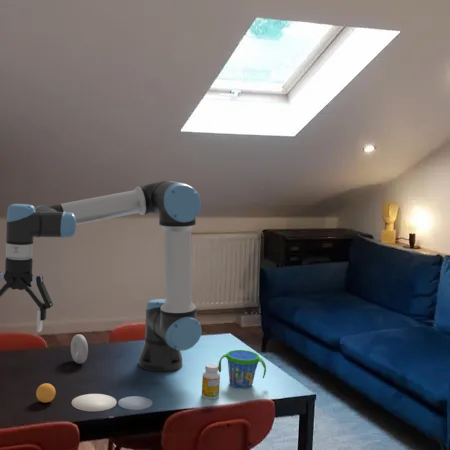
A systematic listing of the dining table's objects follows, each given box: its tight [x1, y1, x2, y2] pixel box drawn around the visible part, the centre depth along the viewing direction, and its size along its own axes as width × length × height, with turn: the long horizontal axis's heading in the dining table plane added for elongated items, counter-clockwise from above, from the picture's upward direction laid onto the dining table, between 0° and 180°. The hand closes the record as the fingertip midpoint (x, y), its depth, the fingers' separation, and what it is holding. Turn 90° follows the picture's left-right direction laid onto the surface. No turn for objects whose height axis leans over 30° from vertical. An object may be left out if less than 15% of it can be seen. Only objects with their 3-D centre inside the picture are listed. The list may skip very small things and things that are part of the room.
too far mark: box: [117, 395, 153, 411], centre depth 204 cm, size 10×10×1 cm
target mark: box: [71, 393, 118, 412], centre depth 203 cm, size 13×13×1 cm
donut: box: [70, 333, 89, 365], centre depth 236 cm, size 10×4×10 cm, turn 34°
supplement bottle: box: [201, 363, 221, 400], centre depth 213 cm, size 5×5×10 cm
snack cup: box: [217, 349, 267, 389], centre depth 224 cm, size 16×10×10 cm
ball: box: [35, 382, 57, 403], centre depth 201 cm, size 6×6×6 cm
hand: (16, 328), depth 202 cm, fingers open, 13 cm apart
